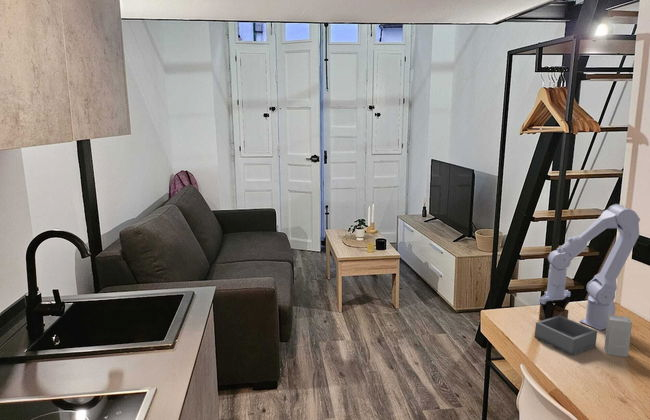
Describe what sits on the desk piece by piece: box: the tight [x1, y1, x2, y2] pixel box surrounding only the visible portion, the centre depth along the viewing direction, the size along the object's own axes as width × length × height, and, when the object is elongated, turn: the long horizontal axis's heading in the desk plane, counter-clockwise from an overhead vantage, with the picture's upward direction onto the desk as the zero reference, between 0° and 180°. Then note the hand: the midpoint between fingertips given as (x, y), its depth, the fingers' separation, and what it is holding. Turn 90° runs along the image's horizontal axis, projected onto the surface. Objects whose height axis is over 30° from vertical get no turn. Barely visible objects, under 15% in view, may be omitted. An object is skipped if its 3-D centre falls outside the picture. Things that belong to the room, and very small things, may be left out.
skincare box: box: [603, 315, 633, 358], centre depth 150 cm, size 6×4×12 cm
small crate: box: [538, 304, 570, 321], centre depth 173 cm, size 5×8×6 cm, turn 28°
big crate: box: [534, 315, 598, 356], centre depth 158 cm, size 12×14×6 cm
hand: (553, 318), depth 173 cm, fingers closed on small crate, 5 cm apart
